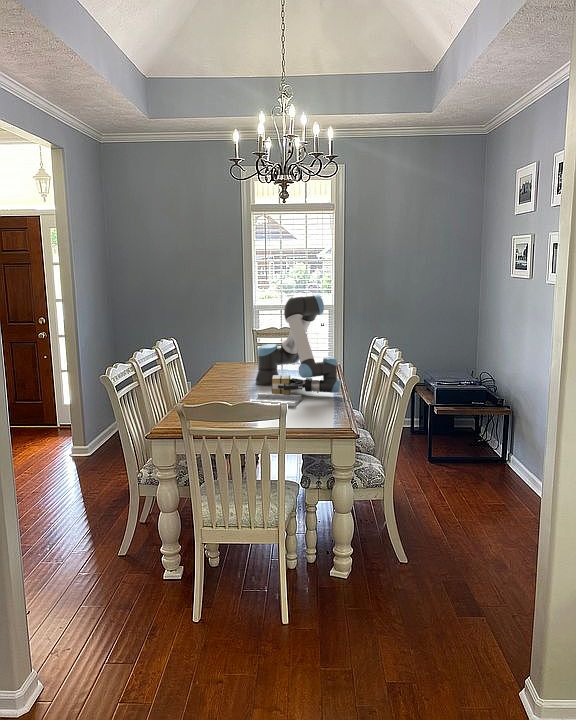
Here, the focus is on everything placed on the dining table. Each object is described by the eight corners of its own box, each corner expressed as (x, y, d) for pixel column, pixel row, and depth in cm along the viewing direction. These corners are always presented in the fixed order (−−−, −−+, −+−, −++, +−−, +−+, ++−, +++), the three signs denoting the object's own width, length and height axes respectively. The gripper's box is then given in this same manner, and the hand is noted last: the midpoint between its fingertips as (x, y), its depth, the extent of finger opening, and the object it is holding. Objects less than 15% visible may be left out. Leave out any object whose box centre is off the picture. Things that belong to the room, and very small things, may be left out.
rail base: (249, 405, 310) (249, 400, 309) (258, 398, 326) (258, 393, 325) (294, 407, 304) (294, 402, 304) (301, 400, 321) (301, 395, 320)
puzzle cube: (272, 392, 340) (272, 375, 338) (290, 392, 340) (290, 375, 338) (271, 396, 330) (271, 378, 328) (289, 396, 330) (289, 378, 328)
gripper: (308, 396, 318) (270, 395, 323) (316, 386, 342) (280, 385, 347) (308, 383, 317) (269, 381, 322) (316, 374, 341) (280, 372, 346)
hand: (275, 383), depth 334 cm, fingers open, 13 cm apart
